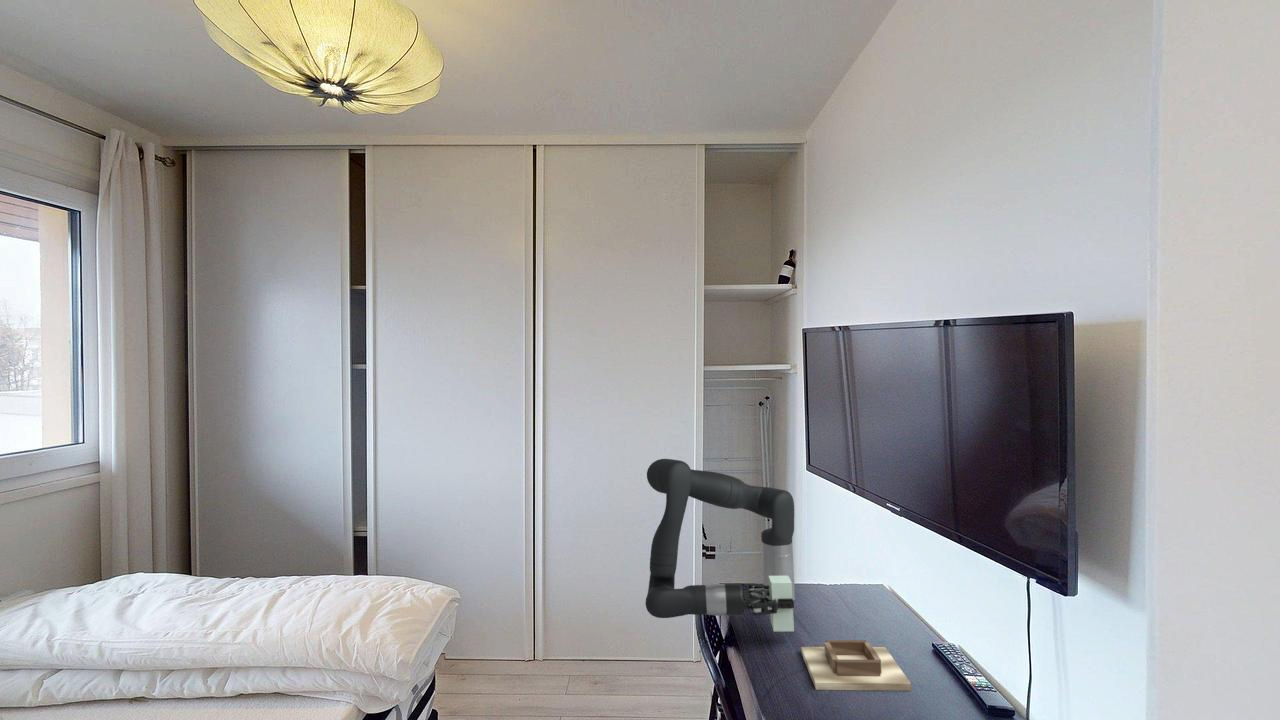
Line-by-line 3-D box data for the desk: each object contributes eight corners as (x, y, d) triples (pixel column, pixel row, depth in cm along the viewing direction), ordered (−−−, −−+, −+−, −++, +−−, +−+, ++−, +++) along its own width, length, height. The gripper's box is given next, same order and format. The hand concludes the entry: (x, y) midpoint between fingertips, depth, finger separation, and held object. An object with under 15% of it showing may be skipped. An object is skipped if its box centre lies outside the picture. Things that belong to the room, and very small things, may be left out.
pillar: (770, 622, 145) (768, 575, 146) (790, 622, 145) (788, 575, 145) (773, 631, 140) (771, 583, 141) (794, 631, 140) (791, 582, 140)
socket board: (801, 653, 138) (800, 634, 138) (885, 653, 136) (884, 634, 136) (815, 689, 122) (814, 668, 122) (911, 690, 120) (910, 669, 121)
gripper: (725, 596, 137) (796, 595, 136) (721, 574, 151) (786, 573, 150) (726, 627, 137) (797, 626, 135) (723, 602, 151) (787, 601, 150)
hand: (791, 598), depth 143 cm, fingers closed on pillar, 5 cm apart
